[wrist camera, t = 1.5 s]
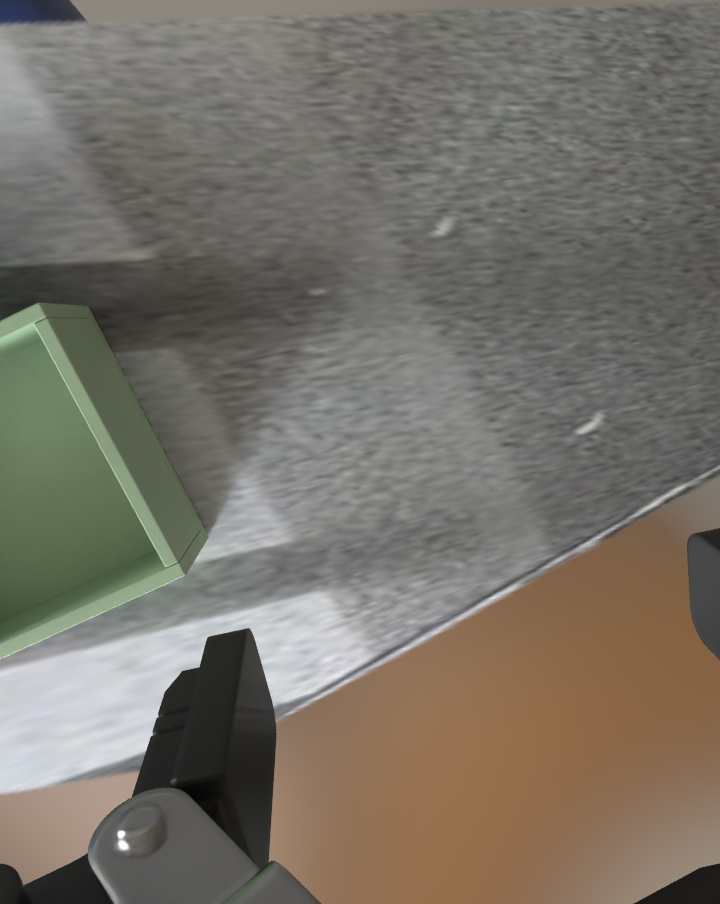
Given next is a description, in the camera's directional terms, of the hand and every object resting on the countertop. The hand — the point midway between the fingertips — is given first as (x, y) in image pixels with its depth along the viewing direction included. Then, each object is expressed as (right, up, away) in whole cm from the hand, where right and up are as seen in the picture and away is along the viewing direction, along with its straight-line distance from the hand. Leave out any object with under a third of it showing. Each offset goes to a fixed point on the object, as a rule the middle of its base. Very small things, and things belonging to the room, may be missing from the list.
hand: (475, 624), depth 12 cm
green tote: (-19, +2, +24) cm, 31 cm away
